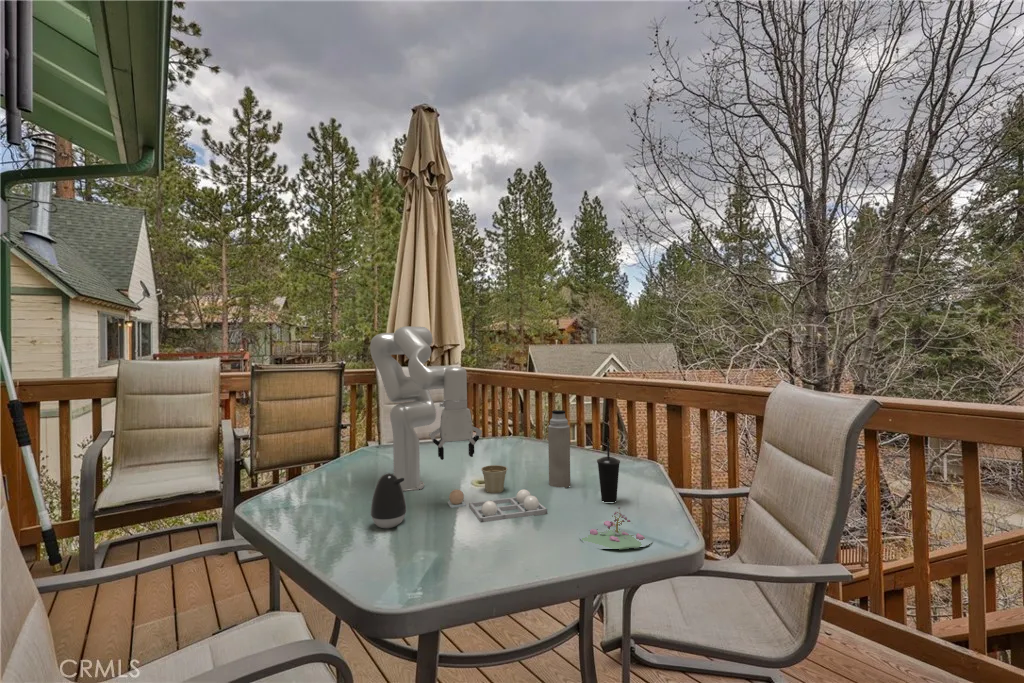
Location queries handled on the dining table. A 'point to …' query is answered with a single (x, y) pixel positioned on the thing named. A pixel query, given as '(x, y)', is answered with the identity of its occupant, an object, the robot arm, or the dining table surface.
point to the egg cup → (456, 504)
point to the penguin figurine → (388, 502)
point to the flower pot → (494, 478)
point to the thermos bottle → (559, 450)
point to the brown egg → (456, 497)
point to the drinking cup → (608, 477)
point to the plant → (614, 536)
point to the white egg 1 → (489, 508)
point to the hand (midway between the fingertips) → (456, 457)
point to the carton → (540, 510)
